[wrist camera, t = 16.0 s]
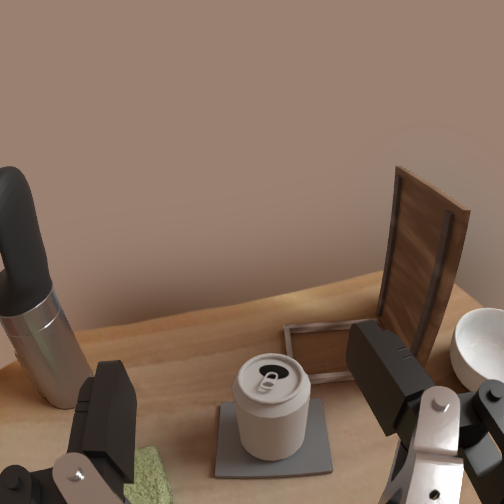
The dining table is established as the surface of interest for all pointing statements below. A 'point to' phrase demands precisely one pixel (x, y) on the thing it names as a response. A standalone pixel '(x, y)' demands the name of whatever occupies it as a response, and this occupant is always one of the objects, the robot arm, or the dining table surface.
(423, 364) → the wooden stand
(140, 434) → the dining table surface
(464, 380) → the cereal bowl
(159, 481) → the washcloth
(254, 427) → the can
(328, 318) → the dining table surface
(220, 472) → the slate board
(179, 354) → the dining table surface
